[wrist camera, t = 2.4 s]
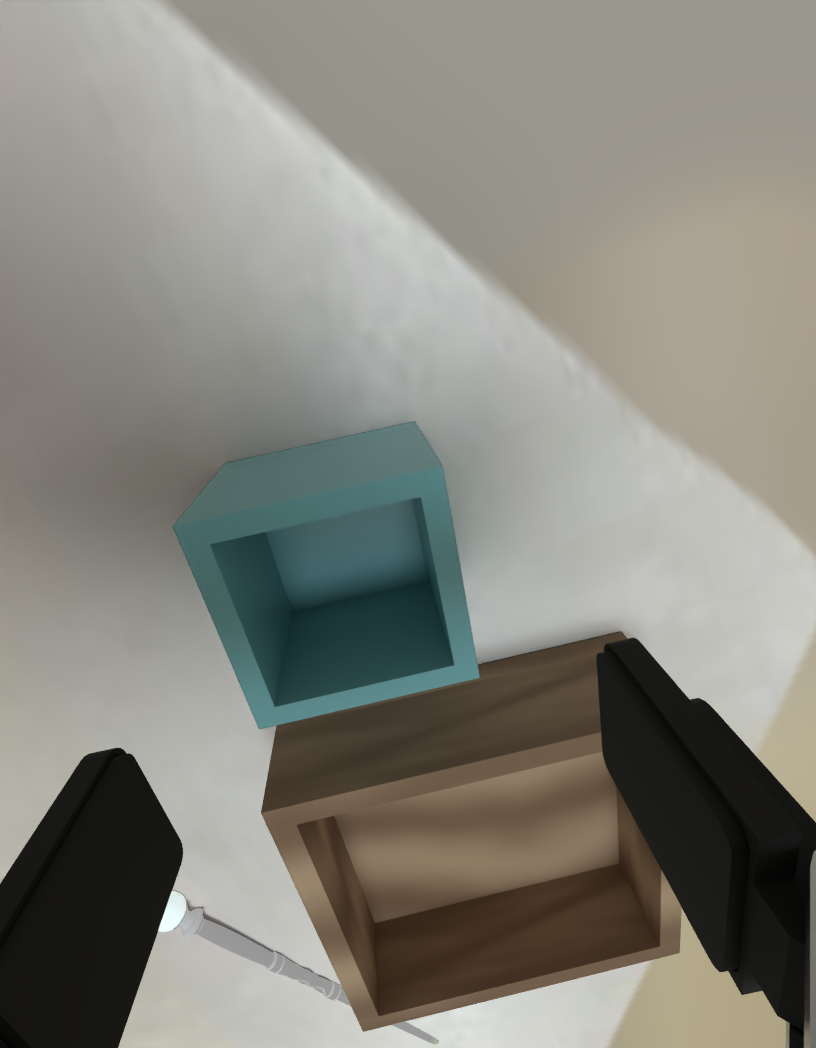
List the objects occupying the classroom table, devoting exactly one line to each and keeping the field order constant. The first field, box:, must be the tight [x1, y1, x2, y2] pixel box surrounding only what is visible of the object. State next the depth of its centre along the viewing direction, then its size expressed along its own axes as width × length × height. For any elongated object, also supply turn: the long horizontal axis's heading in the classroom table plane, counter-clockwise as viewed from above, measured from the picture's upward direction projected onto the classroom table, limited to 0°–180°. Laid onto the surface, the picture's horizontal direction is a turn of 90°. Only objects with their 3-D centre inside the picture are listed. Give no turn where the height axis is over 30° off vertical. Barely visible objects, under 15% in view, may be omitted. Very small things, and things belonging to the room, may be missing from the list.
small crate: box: [173, 421, 480, 729], centre depth 17 cm, size 7×7×6 cm
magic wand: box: [158, 891, 439, 1044], centre depth 31 cm, size 2×25×2 cm
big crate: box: [261, 632, 681, 1032], centre depth 24 cm, size 16×16×5 cm
